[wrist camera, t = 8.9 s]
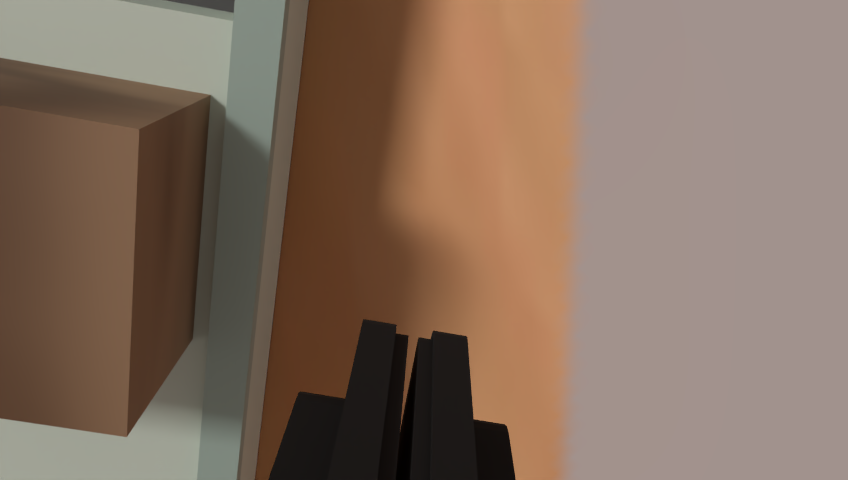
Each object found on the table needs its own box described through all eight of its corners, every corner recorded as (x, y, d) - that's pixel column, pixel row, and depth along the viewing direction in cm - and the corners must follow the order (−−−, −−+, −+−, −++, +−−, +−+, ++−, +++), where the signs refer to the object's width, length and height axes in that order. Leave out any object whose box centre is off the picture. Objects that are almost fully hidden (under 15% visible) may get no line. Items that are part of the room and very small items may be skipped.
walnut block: (-58, 299, 17) (-199, 388, 13) (-74, 44, 15) (-245, 62, 11) (192, 338, 17) (126, 437, 13) (211, 94, 15) (139, 129, 11)
